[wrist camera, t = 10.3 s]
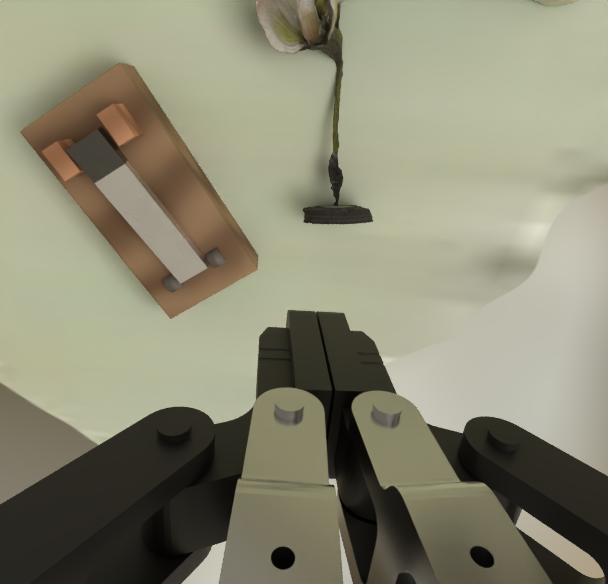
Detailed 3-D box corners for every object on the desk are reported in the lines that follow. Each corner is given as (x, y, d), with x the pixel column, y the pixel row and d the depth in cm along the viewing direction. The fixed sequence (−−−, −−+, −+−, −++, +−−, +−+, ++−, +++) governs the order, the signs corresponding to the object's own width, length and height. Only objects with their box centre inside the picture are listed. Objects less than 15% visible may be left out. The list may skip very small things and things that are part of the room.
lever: (208, 262, 41) (207, 267, 40) (181, 277, 42) (180, 283, 41) (101, 126, 34) (97, 129, 33) (70, 146, 35) (65, 150, 33)
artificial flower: (288, 220, 46) (259, 237, 36) (282, -34, 39) (245, -93, 30) (375, 222, 44) (368, 240, 35) (384, -45, 37) (379, -111, 28)
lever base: (258, 255, 46) (256, 279, 40) (178, 301, 47) (164, 331, 41) (133, 66, 38) (108, 60, 32) (42, 128, 39) (1, 133, 33)
